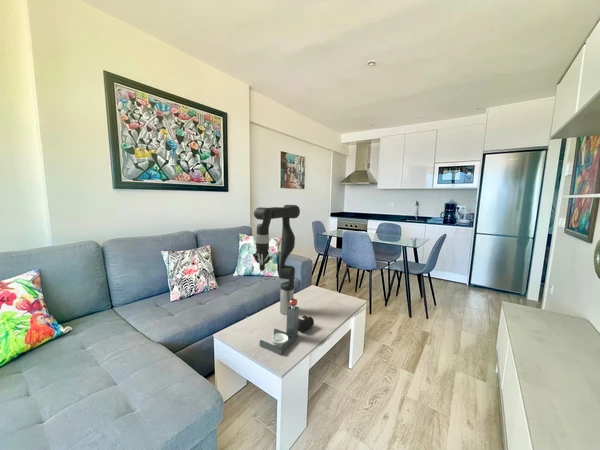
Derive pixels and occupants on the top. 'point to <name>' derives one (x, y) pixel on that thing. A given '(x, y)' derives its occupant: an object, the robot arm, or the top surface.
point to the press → (290, 332)
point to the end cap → (305, 323)
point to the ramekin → (279, 339)
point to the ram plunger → (293, 303)
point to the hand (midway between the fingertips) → (262, 270)
